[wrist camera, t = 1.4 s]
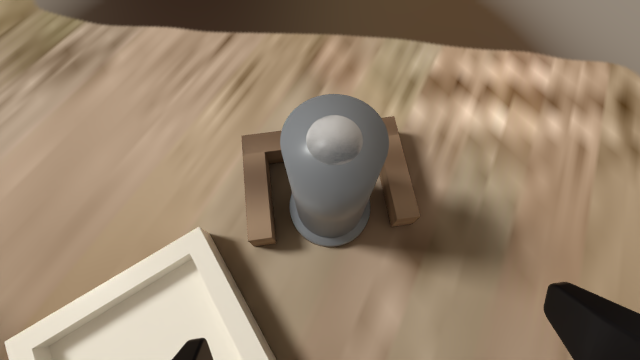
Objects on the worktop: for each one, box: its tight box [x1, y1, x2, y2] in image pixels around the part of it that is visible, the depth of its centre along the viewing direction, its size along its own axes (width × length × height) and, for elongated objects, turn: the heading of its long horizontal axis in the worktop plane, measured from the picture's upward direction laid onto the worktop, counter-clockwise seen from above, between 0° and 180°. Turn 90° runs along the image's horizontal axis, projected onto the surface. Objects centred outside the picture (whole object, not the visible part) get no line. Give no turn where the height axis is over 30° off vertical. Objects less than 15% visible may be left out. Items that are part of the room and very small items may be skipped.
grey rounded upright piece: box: [280, 94, 389, 247], centre depth 18 cm, size 6×6×10 cm
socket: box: [242, 116, 420, 246], centre depth 23 cm, size 8×11×2 cm
